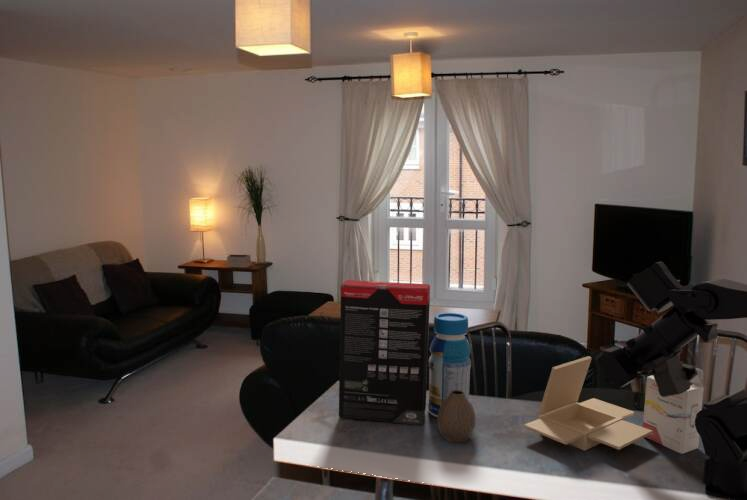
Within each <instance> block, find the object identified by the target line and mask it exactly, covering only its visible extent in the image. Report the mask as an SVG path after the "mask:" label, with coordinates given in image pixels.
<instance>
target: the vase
mask: <svg viewBox="0 0 747 500" xmlns="http://www.w3.org/2000/svg"><path fill="white" fill-rule="evenodd" d="M437 425H438V430H439V432H440V434H441V435H442V436H443V437H444V438H445V439H446V440H447V441H449V442H453V443H462V442H465V441H467V440H468V439H469V438H471V436H473V432H474V431H475V427H476V412H475V409H474V406H473V405H472V403H471V402H470V400H469V401H468V399H467V398H466V396H465V394H464V392H463V391H461V390H453V391H451V393H450V395H449V396H448V398H447V399H446V400H445V401H444V402H443V403H442V405H441V407H440V409H439V412H438V418H437Z"/></svg>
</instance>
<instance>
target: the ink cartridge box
mask: <svg viewBox="0 0 747 500" xmlns="http://www.w3.org/2000/svg"><path fill="white" fill-rule="evenodd" d="M695 368H696V370H697V373H698V375H697V376H695V377H694V378H693V379H692V380H691V381H690V382H692V384H693V385H691V386H690V389H689V390H687V391H685V392H683V393H681V394H677V395H672V396H667V397H662V396H661V395H660V394H659V391H658V386H657V383H656V381H655V379H654V376H653V374H651V375H649V376H648V375H647V377H646V383H645V396H644V407H643V409H644V410H643V419H642V420H643V421H642V427H643V428H646V429H649V430H652V434H650V435H648V436H646V437H645V438H646V439H649V440H650V441H652V442H655V443H657V444H659V445H662V446H663V447H666V448H668V449H669V450H672V451H673V452H676V453H679V454H681V455H683V454H685V453H688V452H691V451H694V450H697V449H698V448H699V445H700V444H699V443H700V442H699V441H700V435H699V434H698V432H697V430H696V427H695V418H696V414H697V413H698V412H699V411H701V410H703V401H704V390H705V389H704V370H702V369H701V368H698V367H695Z"/></svg>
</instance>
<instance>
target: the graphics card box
mask: <svg viewBox="0 0 747 500" xmlns="http://www.w3.org/2000/svg"><path fill="white" fill-rule="evenodd" d="M430 298H431V285H430V284H428V283H427V284H426V283H410V282H389V281H372V280H370V281H369V280H367V281H366V280H354V279H353V280H349V279H346V280H345V281H344V282H342V283H341V284H340V316H339V317H340V325H339V326H340V329H339V330H340V333H339V340H340V341H339V381H338V383H339V384H338V386H339V387H338V418H341V419H350V420H351V419H352V420H360V421H361V420H362V421H370V422H371V421H374V422H385V423H394V424H404V425H415V426H416V425H417V426H421V425H423V424H424V419H425V414H426V409H427V408H426V405H427V386H428V383H427V381H428V380H427V379H428V363H429V337H430V336H429V333H430V332H429V330H430V305H431V304H430V302H431V300H430Z"/></svg>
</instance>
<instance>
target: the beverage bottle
mask: <svg viewBox="0 0 747 500" xmlns="http://www.w3.org/2000/svg"><path fill="white" fill-rule="evenodd" d="M433 319H434V320H433V331H434V333H435V334H436V335H435V336H434V338H433V339H432V341H431V343H430V346H429V352H430V356H429V357H428V367H429V368H428V369H429V370H428V375H429V376H428V380H429V381H428V407H427V410H428V412H429V414H431V416H433V417H435V418H437V419H438V412H439V409H440V407H441V405H442V403H443V402H444V401H445V400H446V399H447V398H448V396H449V395H450V393H451V391H453V390H461V391H463V392H464V394H465V396H466V398H467V399H468V401H469V402H470V381H471V380H470V379H471V367H472V360H471V358H470V356H471V355H470V354H471V353H472V349H471V345H470V342H469V341H468V338H467V337H466V336H465V335H467V334H468V333H469V318H468V316H466V315H465V314H462V313H456V312H444V313H438V314H435V315H434V318H433Z"/></svg>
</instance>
